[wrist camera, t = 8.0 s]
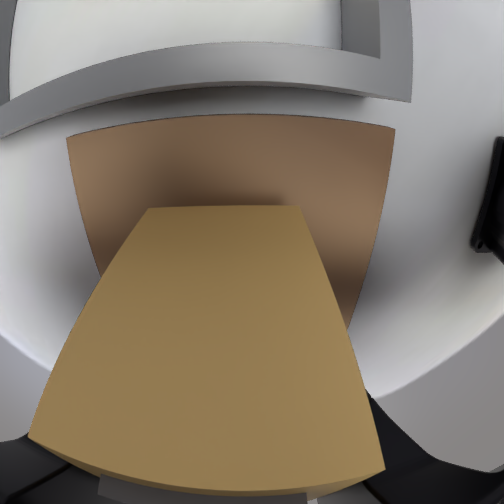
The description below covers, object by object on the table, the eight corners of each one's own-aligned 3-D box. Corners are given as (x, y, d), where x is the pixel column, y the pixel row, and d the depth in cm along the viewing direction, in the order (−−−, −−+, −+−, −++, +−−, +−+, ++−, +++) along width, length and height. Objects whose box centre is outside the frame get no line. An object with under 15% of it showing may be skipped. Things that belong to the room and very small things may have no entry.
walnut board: (336, 344, 15) (338, 351, 14) (135, 343, 15) (132, 351, 14) (387, 126, 8) (395, 129, 8) (74, 134, 8) (66, 137, 8)
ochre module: (281, 352, 12) (297, 513, 5) (182, 351, 12) (161, 508, 5) (298, 205, 8) (390, 496, 2) (148, 208, 8) (20, 458, 2)
